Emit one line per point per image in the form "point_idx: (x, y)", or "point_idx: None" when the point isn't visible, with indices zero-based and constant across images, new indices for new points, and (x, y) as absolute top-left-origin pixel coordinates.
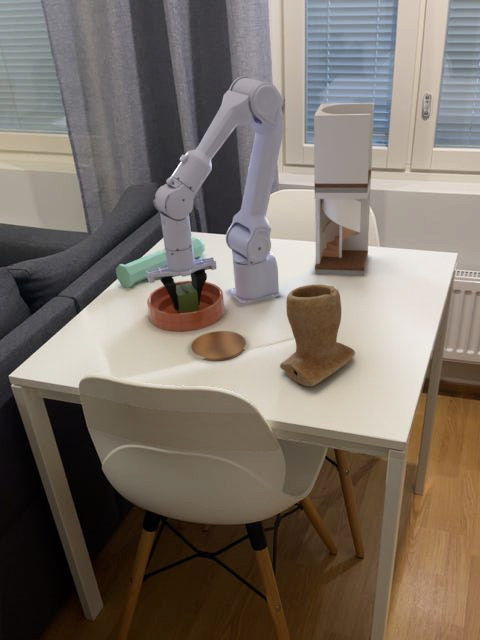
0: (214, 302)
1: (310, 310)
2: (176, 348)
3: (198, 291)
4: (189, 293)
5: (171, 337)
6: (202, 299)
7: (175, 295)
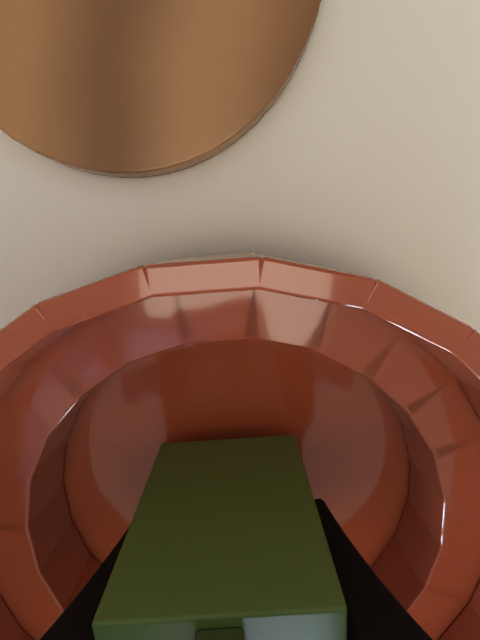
0: (24, 502)
1: None
2: (414, 71)
3: (82, 631)
4: (194, 613)
5: (398, 249)
6: None
7: (365, 628)
